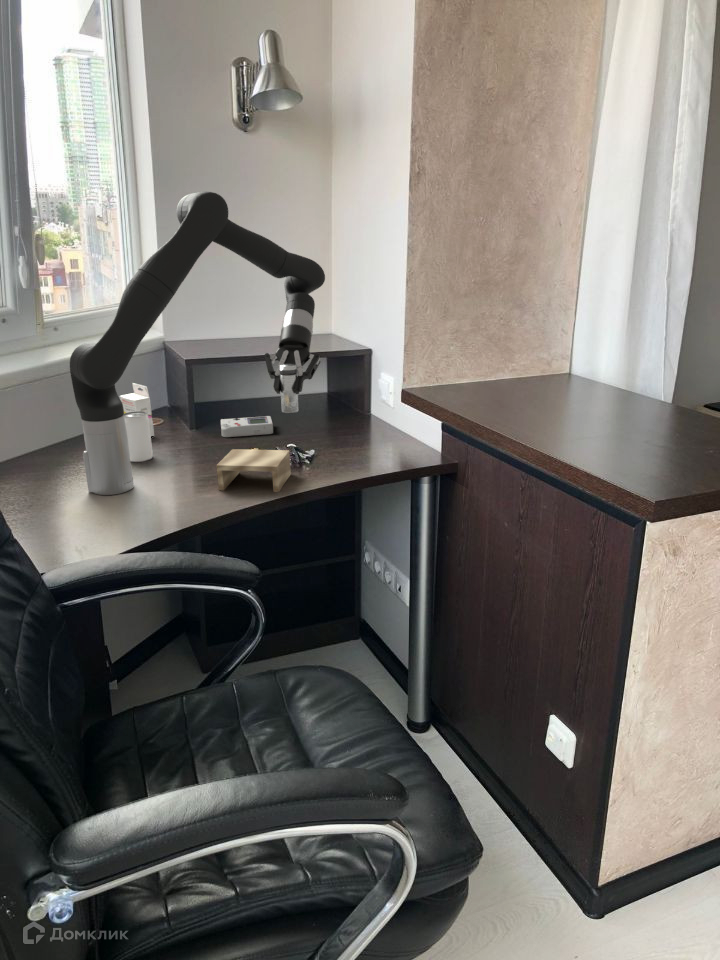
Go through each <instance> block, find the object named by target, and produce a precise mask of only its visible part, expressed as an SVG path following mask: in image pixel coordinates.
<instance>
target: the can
mask: <svg viewBox="0 0 720 960" xmlns="http://www.w3.org/2000/svg"><path fill="white" fill-rule="evenodd" d="M124 416H125V423H126V431H127V438H128V445H129V453H130V460H131V463H144V462H148V461H150V460H151V459H152V458H153V457H154V452H153V444H152V438H151V435H150V427H149V420H148V417H147V416H146V412H143V411H133V412H128V413H125V414H124Z"/></svg>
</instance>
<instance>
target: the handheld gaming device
mask: <svg viewBox="0 0 720 960" xmlns="http://www.w3.org/2000/svg"><path fill="white" fill-rule="evenodd" d="M220 428H221V429H220V431H221V437H223V438H232V437H248V436H260V435H261V436H262V435H263V436H264V435H272V434H274V424H273V421H272V417H271V415H265V416H263V415H262V416H255V417H254V416H252V417H251V416H249V417H237V418H224V419H223V418H221V419H220Z"/></svg>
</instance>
